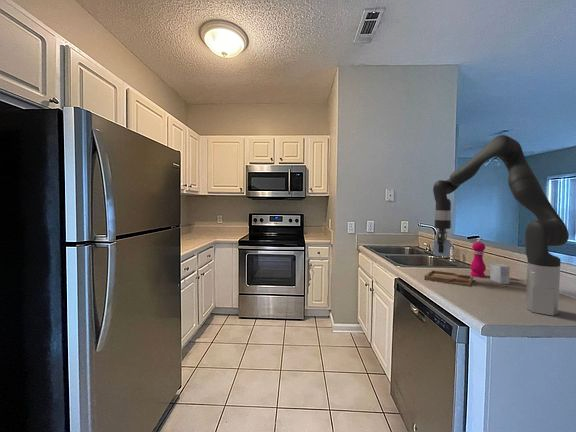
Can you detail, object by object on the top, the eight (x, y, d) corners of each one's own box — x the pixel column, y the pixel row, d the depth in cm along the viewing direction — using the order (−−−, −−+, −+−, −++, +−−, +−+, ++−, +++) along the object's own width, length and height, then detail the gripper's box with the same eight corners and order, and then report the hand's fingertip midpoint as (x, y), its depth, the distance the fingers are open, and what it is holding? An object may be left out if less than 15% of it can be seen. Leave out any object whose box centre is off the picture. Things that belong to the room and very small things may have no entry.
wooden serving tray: (469, 286, 143) (469, 281, 143) (424, 279, 155) (424, 275, 155) (473, 279, 156) (473, 275, 156) (431, 274, 168) (431, 270, 168)
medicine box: (509, 284, 148) (510, 266, 148) (500, 284, 148) (501, 266, 148) (498, 280, 156) (499, 263, 155) (489, 280, 156) (490, 263, 156)
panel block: (448, 256, 153) (448, 241, 153) (433, 255, 158) (433, 240, 157) (449, 255, 157) (450, 240, 157) (435, 254, 161) (435, 239, 161)
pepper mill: (470, 273, 169) (471, 238, 168) (485, 275, 165) (487, 239, 164) (469, 276, 164) (470, 239, 163) (485, 278, 159) (486, 240, 158)
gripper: (448, 220, 149) (447, 254, 149) (453, 218, 160) (452, 251, 161) (431, 219, 153) (430, 253, 154) (437, 218, 164) (436, 249, 165)
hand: (441, 251), depth 157 cm, fingers closed on panel block, 4 cm apart
